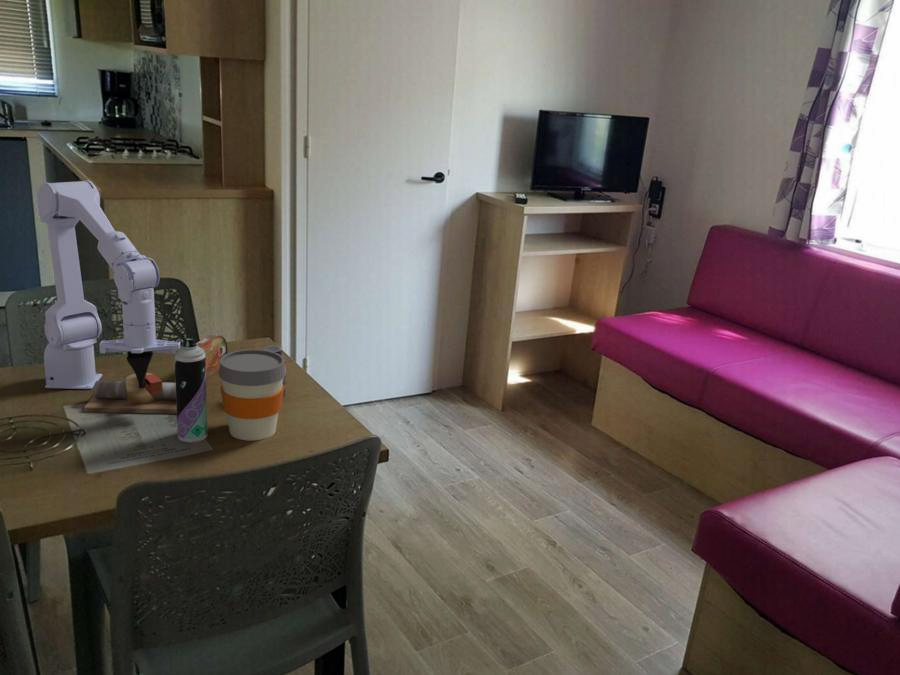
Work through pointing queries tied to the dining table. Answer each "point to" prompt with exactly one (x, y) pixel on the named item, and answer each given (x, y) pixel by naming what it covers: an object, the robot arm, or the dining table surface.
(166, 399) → the valve stand
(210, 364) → the tin
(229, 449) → the dining table surface
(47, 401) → the dining table surface
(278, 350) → the supplement bottle
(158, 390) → the valve lever
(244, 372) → the reusable coffee cup
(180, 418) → the spray can
